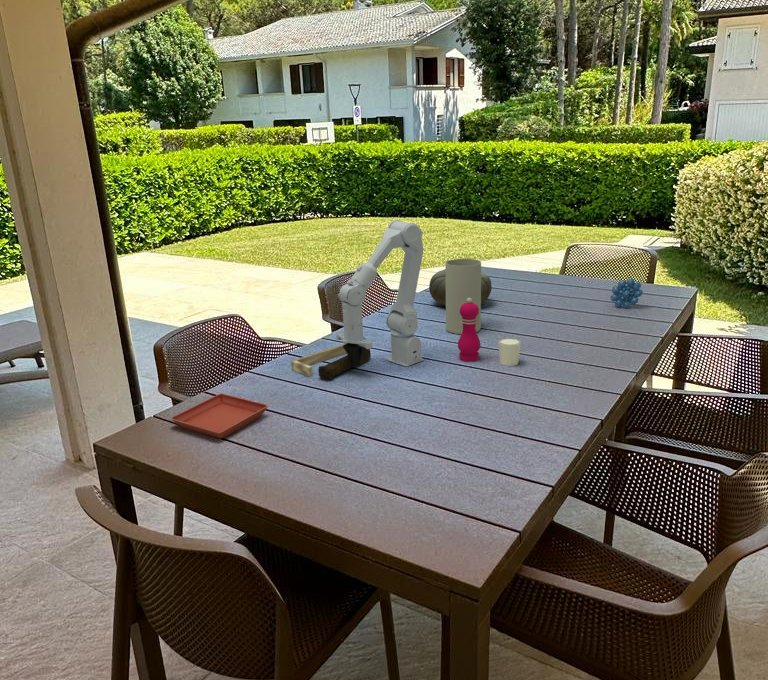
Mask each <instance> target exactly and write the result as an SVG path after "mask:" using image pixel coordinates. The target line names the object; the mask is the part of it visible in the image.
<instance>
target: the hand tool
mask: <svg viewBox="0 0 768 680" xmlns="http://www.w3.org/2000/svg"><path fill="white" fill-rule="evenodd" d="M371 357H372V355H371V348H370V349H366V348H364V350H363V353H362V355H361V359H360V364H359V366H362V364H363V365H364V364H366V363H367V362H368V361H369V360H370V359H371ZM351 368H353V367H352V366H351V363H350V360H349V357H348V355H347V354H346V355H344V356H342V357H340V358H338V359H337V360H333V361H332V362H329V363H327V364H325V365H320V366H319V367H318V370H317V372H318V377H319V378H320V380H323V381H330V380H331V379H334V378H335V376H337V375H339V374H341V373H343V372H345V371H347V370H349V369H351Z"/></svg>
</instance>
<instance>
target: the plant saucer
mask: <svg viewBox="0 0 768 680" xmlns="http://www.w3.org/2000/svg"><path fill="white" fill-rule="evenodd" d="M268 407H269V405H268V404H265V403H260V402H257V401H252V400H250V399H245V398H241V397H237V396H234V395H233V396H232V395H229V394H224V393H219V394H217V395H215V396H214V395H213V396H212V397H210V398H208V399H207V400H203V401H202V402H200V403H198V404H196V405H194V406H191V407H190V408H188V409H185V410H184V411H182V412H179V413H178V414H175V415H173V416H171V418H170V420H171V421H172V422H173V423H175V424H176V425H178V427H179V426H180V427H181V428H184V429H186V430H190V431H194V432H196V433H201V434H204V435H207V436H210V437H212V438H213V437H214V438H216V439H223V438H225V437H227V436H228V435H230V434H232V433H235V432H236V431H238V430H239V429H241V428H243V427H245V426H246V425H248V424H250V423H251V422H254V421H255V420H257V419H259V418H260V417H261V416H262V415H263V414H264V413H265V411H266V410H267V409H268Z"/></svg>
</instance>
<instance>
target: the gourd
mask: <svg viewBox="0 0 768 680" xmlns="http://www.w3.org/2000/svg"><path fill="white" fill-rule="evenodd" d="M428 287H429V288H428V289H429V290H428V291H429V294H430V296H431V298H432V299H433V300H434V301H435V302H436V303H438V304H439V305H441V306H445V307H446V268H444V269H441V270H439V271H437V272H435V273H434V274H433V275H432V276H431V278H430V280H429V285H428ZM492 288H493V287H492V280H491V278H490V277H489V275H488V274H486V273H483V272H481V305H482V304H484V303H485V302H486V301H487V300H488V298H489V297H490V295H491V293H492Z"/></svg>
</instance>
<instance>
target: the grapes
mask: <svg viewBox="0 0 768 680" xmlns="http://www.w3.org/2000/svg"><path fill="white" fill-rule="evenodd" d="M641 287H642V284H641V282H640V281H639V282H638V281H635V279H634V278H628V279H627V280H624V279H622V280H620V281H618V283H617V285H615V286H613V287H612V288H611V293H612V295H611V296H610V300H611V302H614V306H615V307H616V308H620V307H622V308H624V309H627V308H630V306H631V305H636V304H637V303H639V299H640V297H641V296H642V295H643V294H644V293H643V292H644V291H643V290H642V289H641Z"/></svg>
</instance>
